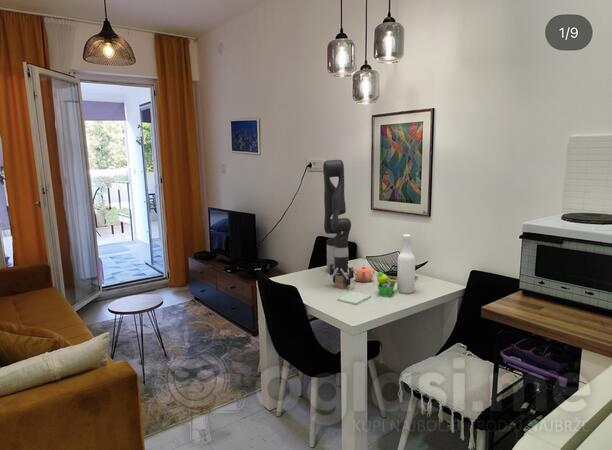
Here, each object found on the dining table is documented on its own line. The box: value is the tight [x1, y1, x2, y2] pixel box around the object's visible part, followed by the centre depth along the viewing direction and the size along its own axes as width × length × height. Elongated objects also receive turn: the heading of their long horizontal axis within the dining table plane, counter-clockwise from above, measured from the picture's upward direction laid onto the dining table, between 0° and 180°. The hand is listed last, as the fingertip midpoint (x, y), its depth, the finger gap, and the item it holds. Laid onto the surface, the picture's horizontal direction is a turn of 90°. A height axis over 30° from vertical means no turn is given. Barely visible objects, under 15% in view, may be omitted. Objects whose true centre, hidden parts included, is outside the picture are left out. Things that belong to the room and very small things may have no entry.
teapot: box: [353, 264, 375, 283], centre depth 234 cm, size 12×15×8 cm
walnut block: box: [334, 273, 349, 290], centre depth 223 cm, size 5×5×7 cm
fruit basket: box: [376, 271, 396, 297], centre depth 211 cm, size 11×9×11 cm
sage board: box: [336, 291, 372, 306], centre depth 204 cm, size 14×11×1 cm
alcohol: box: [396, 233, 416, 295], centre depth 212 cm, size 9×9×30 cm
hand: (341, 284), depth 223 cm, fingers open, 8 cm apart
